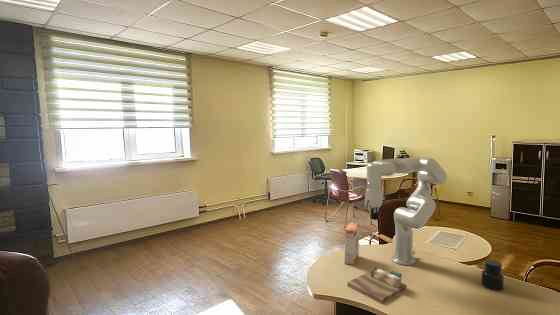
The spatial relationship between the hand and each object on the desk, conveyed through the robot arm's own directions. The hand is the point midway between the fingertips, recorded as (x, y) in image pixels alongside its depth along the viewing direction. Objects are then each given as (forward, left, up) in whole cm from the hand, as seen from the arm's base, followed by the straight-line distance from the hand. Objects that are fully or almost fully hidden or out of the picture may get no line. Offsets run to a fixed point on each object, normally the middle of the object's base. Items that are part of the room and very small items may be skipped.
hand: (374, 219), depth 169 cm
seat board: (+15, +12, -29) cm, 35 cm away
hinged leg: (+10, +14, -26) cm, 31 cm away
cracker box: (0, -16, -29) cm, 33 cm away
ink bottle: (-29, +47, -29) cm, 63 cm away
